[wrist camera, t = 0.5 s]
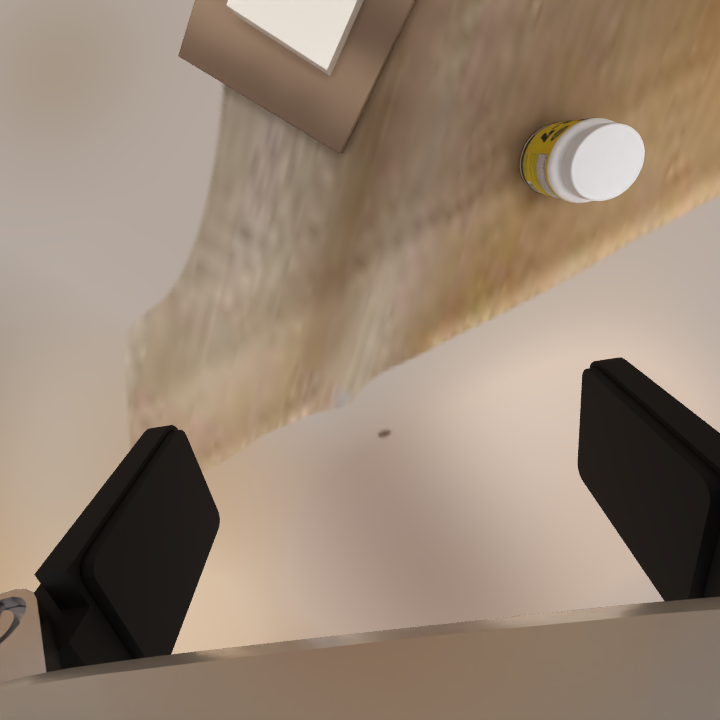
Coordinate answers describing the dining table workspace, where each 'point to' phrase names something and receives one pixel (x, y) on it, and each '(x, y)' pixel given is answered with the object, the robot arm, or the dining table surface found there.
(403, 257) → the dining table surface
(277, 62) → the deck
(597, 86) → the dining table surface
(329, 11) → the white rectangular block
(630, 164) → the supplement bottle
